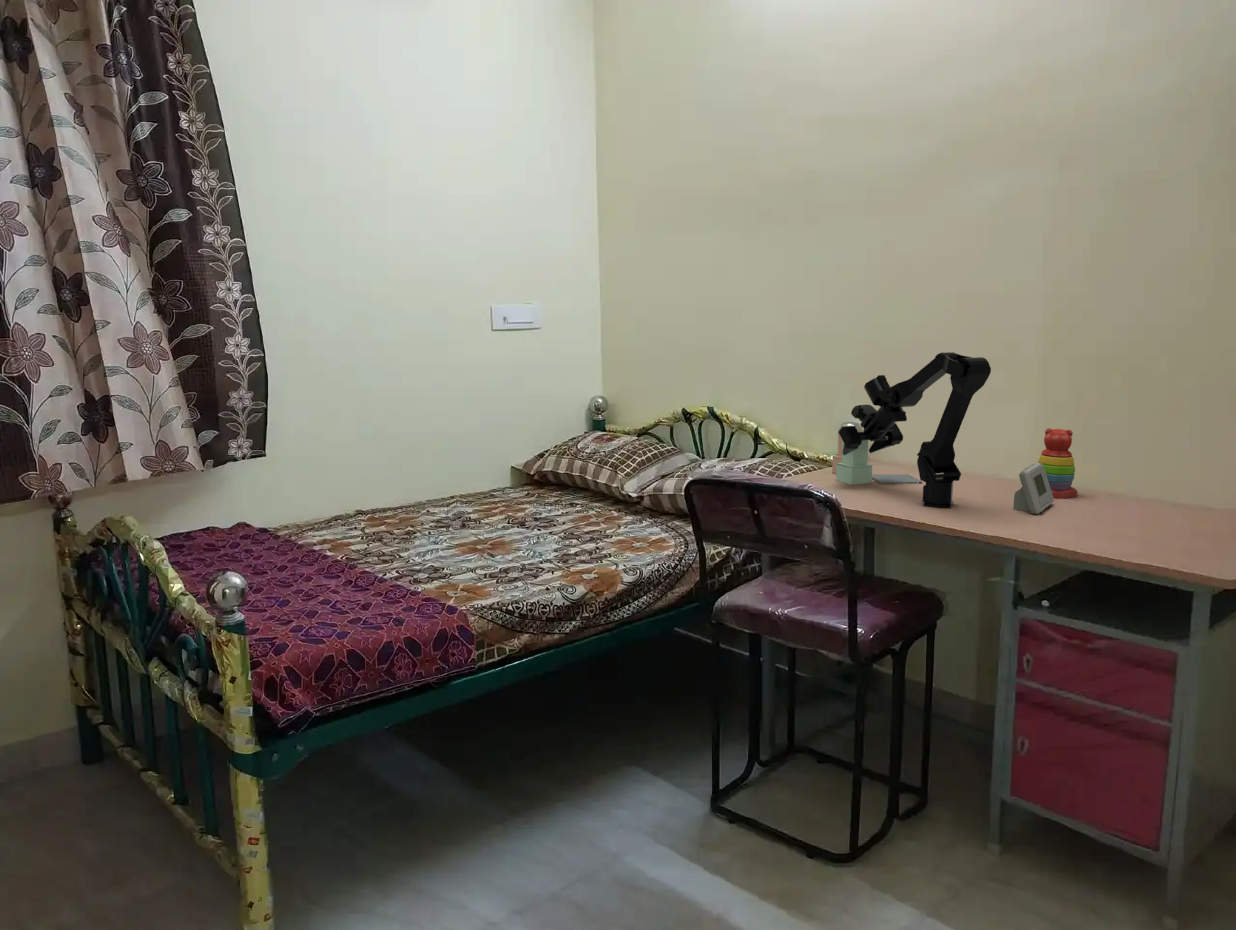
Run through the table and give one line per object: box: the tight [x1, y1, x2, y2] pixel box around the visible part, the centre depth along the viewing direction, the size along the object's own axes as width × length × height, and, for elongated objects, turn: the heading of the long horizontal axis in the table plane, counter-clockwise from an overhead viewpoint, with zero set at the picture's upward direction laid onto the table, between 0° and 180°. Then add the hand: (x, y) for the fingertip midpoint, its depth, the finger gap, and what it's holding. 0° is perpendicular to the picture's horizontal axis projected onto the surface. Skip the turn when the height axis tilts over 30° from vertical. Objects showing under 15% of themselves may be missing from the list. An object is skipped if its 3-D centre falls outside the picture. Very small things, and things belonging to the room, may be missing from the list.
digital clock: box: [1013, 462, 1055, 515], centre depth 231 cm, size 16×9×11 cm, turn 132°
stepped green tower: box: [835, 440, 873, 486], centre depth 266 cm, size 7×7×12 cm
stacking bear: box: [1037, 428, 1078, 499], centre depth 247 cm, size 11×10×18 cm
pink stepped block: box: [831, 431, 843, 475], centre depth 279 cm, size 7×7×12 cm
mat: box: [872, 473, 923, 485], centre depth 270 cm, size 12×12×1 cm
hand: (856, 452), depth 265 cm, fingers open, 9 cm apart
